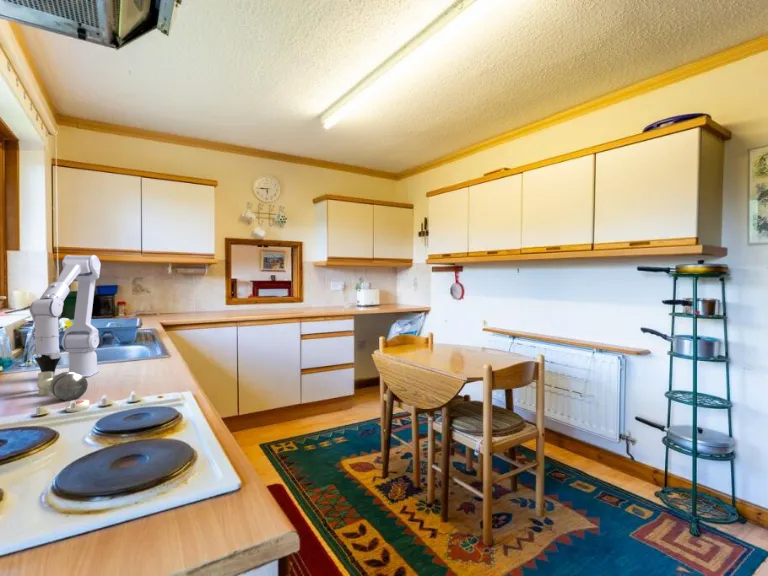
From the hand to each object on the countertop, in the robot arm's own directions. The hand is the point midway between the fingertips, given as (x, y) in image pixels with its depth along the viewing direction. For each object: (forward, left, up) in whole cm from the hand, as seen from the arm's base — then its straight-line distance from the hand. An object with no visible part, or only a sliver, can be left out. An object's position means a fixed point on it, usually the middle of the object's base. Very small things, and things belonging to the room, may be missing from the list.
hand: (48, 378), depth 129 cm
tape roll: (+26, +18, -3) cm, 32 cm away
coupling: (+14, +12, -3) cm, 19 cm away
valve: (+7, +6, -4) cm, 10 cm away
